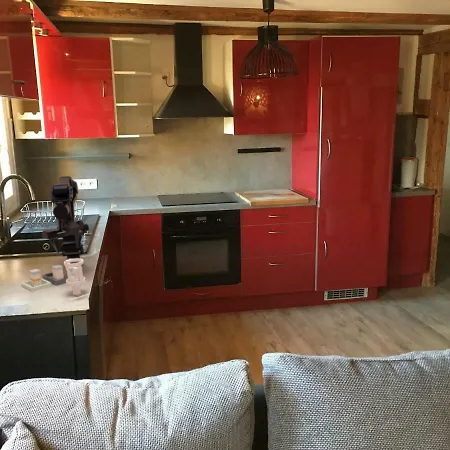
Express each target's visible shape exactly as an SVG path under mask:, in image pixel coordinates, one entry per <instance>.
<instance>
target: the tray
mask: <svg viewBox="0 0 450 450" xmlns="http://www.w3.org/2000/svg"><path fill="white" fill-rule="evenodd" d="M41 283H42V285H39V286H35V287H32V286H31V280H26V281H23V282H21V283H20V284H21V287H22V288H24V289H26V290H27V291H30V292H31V293H33V292H37V291H40V290H44V289H47V288H52V285H53V284H51V282H49V281H47V280H44V279H43V277H41Z"/></svg>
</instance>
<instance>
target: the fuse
mask: <svg viewBox="0 0 450 450" xmlns="http://www.w3.org/2000/svg"><path fill="white" fill-rule="evenodd" d="M63 266H64V265H60V264H56V265H52V266H51V270H52V271H51V272H53V279H54V280H60V279H64V277H65V276H64V271H63V269H64V268H63Z"/></svg>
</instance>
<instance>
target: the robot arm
mask: <svg viewBox="0 0 450 450" xmlns="http://www.w3.org/2000/svg"><path fill="white" fill-rule="evenodd" d="M58 178H59V179H58V180H59V181H58V183H54V184H52V187H51V188H50V202H51V203H54V204H55V206H54V208H53V210H52V214H53V216H54V217H55V220H57V226H56V229H52V228H49V229H44V230H42V232H41V238H42V239H43V238H44V239H46V240H49V242H50V244H51V245H52V247H53V248H54V250H55V252H56V253H57V254H60V248H59V241H58V240H59V237H58V235H62V234H63V235H62V242H61V244H60V247H61V253H62V257H66V260H69V259H76V258H79V259H81V256H82V255H84V254H85V249H84V245H83V243H82V239H83V236H84V235H85V234H86V233H87V232H88V231H89V232H90V226H89V224H88V223H84V222H83V220H81V219H79V220H77V221H76V214H75V213H76V211H75V210H76V209H75V203H76V201H77V200H78V194H79V186H78V182H77V181H76V180H74V179H72V176H70V175H68V176H66V175H65V176H59V177H58ZM73 263H78V262H70V264H73Z"/></svg>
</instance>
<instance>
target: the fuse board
mask: <svg viewBox="0 0 450 450" xmlns="http://www.w3.org/2000/svg"><path fill="white" fill-rule="evenodd" d="M41 278H42V279H44V280H47V281H49V282H51V284H52V285H54V286H56V287H58V286H62V285H64V284H66V280H67V279H68V276H67V277H66V276H64V279H60V280H54V279H53V271H51V272H48V273H45V274H42V275H41Z"/></svg>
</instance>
